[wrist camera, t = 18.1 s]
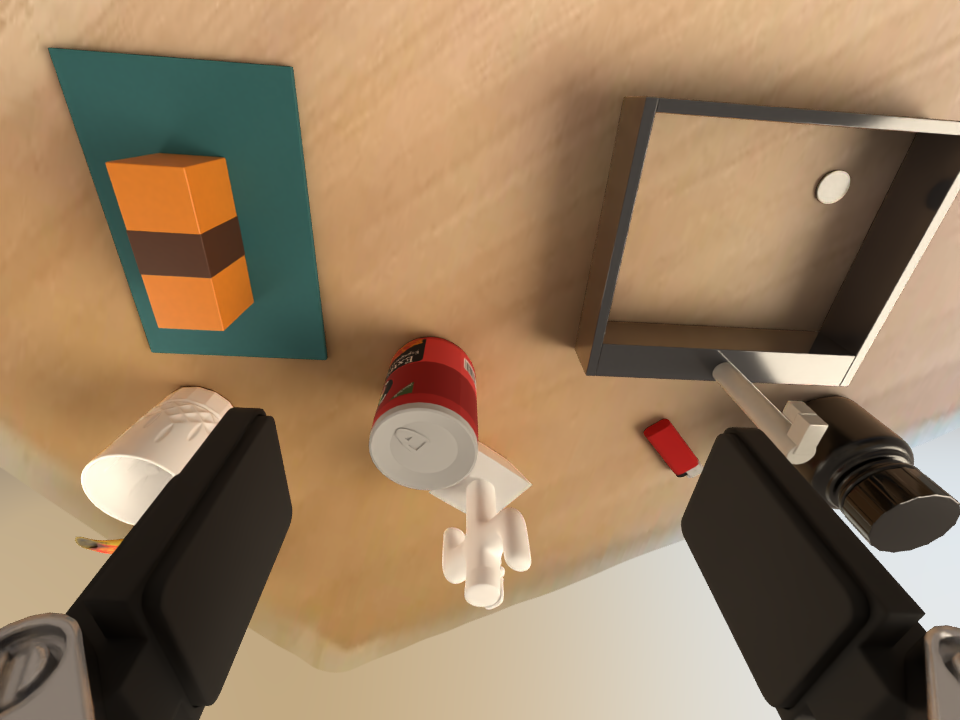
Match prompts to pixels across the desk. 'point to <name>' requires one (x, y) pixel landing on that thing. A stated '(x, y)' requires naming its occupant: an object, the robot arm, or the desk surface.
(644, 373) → the sink basin
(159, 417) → the white cup
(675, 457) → the lighter
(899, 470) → the ink bottle
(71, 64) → the mat
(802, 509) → the robot arm
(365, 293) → the desk surface
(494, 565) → the figurine
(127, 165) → the orange striped block
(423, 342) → the canned food
